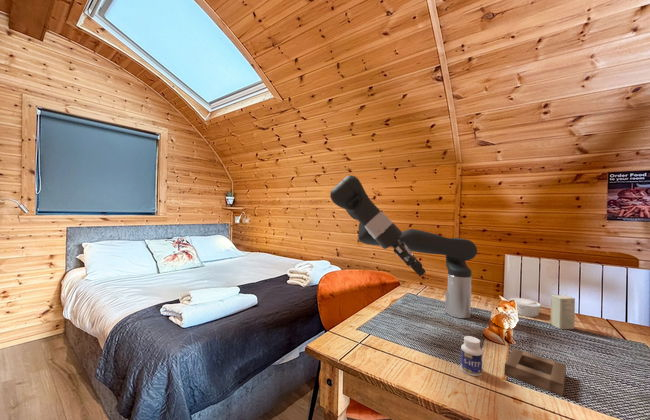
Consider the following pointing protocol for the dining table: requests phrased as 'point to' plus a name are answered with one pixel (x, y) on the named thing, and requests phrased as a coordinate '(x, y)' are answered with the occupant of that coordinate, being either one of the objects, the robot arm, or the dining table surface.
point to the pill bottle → (471, 356)
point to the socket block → (535, 377)
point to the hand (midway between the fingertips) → (421, 270)
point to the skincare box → (562, 311)
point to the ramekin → (527, 307)
